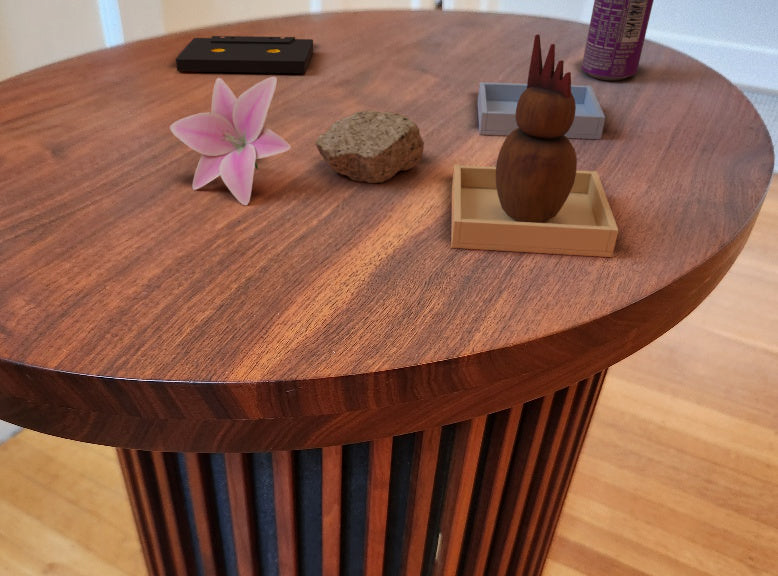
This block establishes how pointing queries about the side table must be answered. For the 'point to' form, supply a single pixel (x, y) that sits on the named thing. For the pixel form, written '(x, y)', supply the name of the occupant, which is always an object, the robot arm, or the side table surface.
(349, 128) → the rock
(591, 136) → the blue tray
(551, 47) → the wooden figurine
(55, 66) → the side table surface
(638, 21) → the beverage can
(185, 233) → the side table surface
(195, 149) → the lily
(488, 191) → the birch tray
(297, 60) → the cassette tape
